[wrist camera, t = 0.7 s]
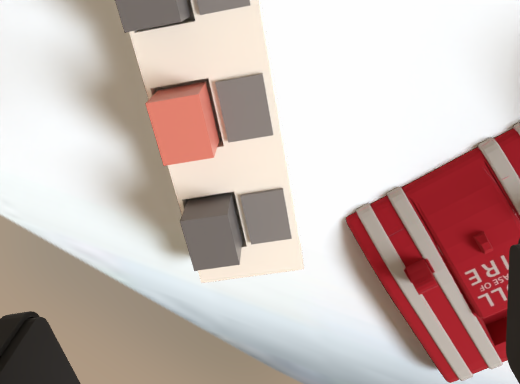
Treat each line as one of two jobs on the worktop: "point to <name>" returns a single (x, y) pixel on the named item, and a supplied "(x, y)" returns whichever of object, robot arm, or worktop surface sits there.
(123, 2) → the button
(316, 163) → the worktop surface
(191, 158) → the button
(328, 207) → the worktop surface
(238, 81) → the button panel
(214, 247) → the button
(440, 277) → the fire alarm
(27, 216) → the worktop surface
